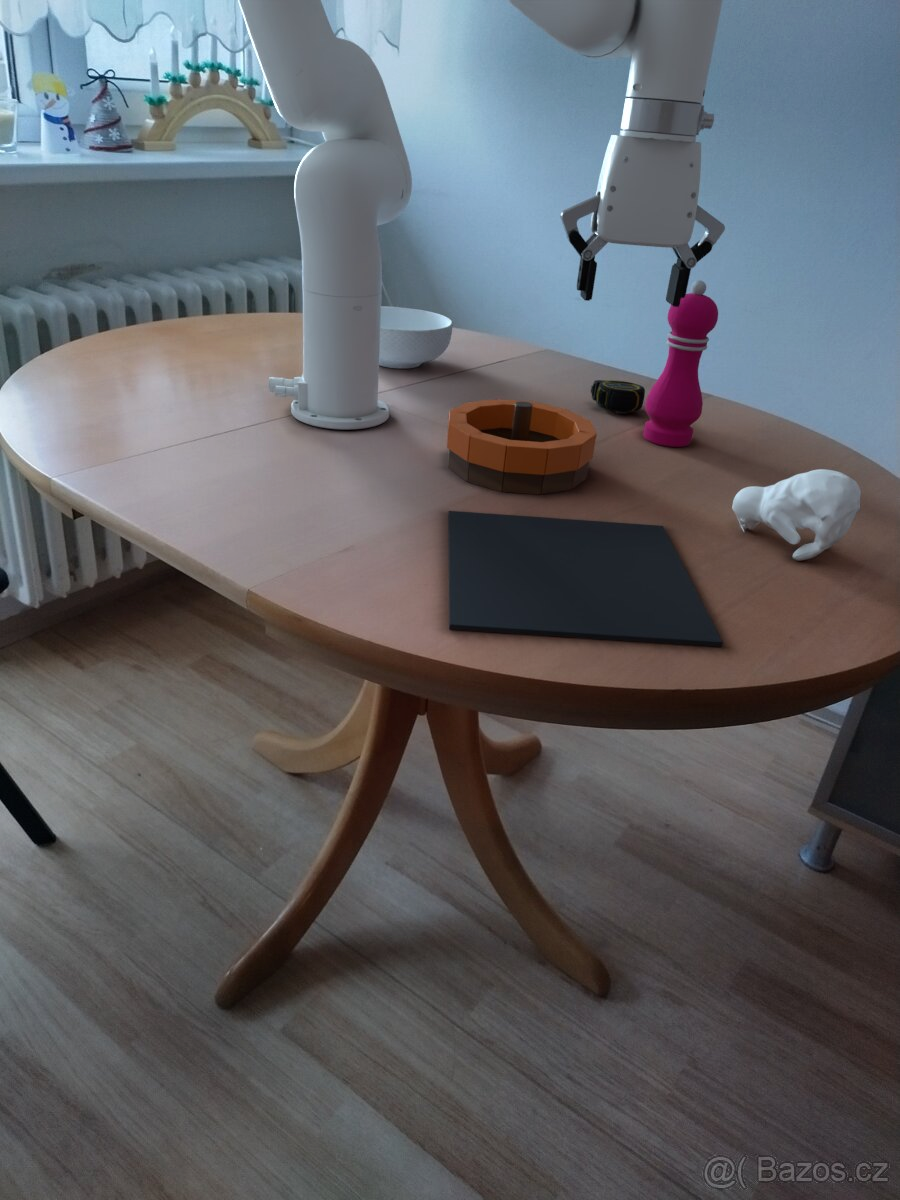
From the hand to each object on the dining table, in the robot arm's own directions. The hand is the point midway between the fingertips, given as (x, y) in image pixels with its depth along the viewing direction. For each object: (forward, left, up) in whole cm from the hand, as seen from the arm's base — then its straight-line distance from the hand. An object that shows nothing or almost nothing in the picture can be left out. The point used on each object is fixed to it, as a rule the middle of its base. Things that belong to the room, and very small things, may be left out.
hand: (629, 301), depth 94 cm
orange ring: (-10, -3, -17) cm, 20 cm away
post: (-10, -3, -19) cm, 22 cm away
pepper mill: (+11, +11, -19) cm, 25 cm away
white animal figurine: (+16, -19, -19) cm, 31 cm away
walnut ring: (-10, -3, -19) cm, 22 cm away
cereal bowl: (-26, +39, -19) cm, 51 cm away
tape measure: (+6, +23, -19) cm, 31 cm away
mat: (-7, -29, -19) cm, 35 cm away
